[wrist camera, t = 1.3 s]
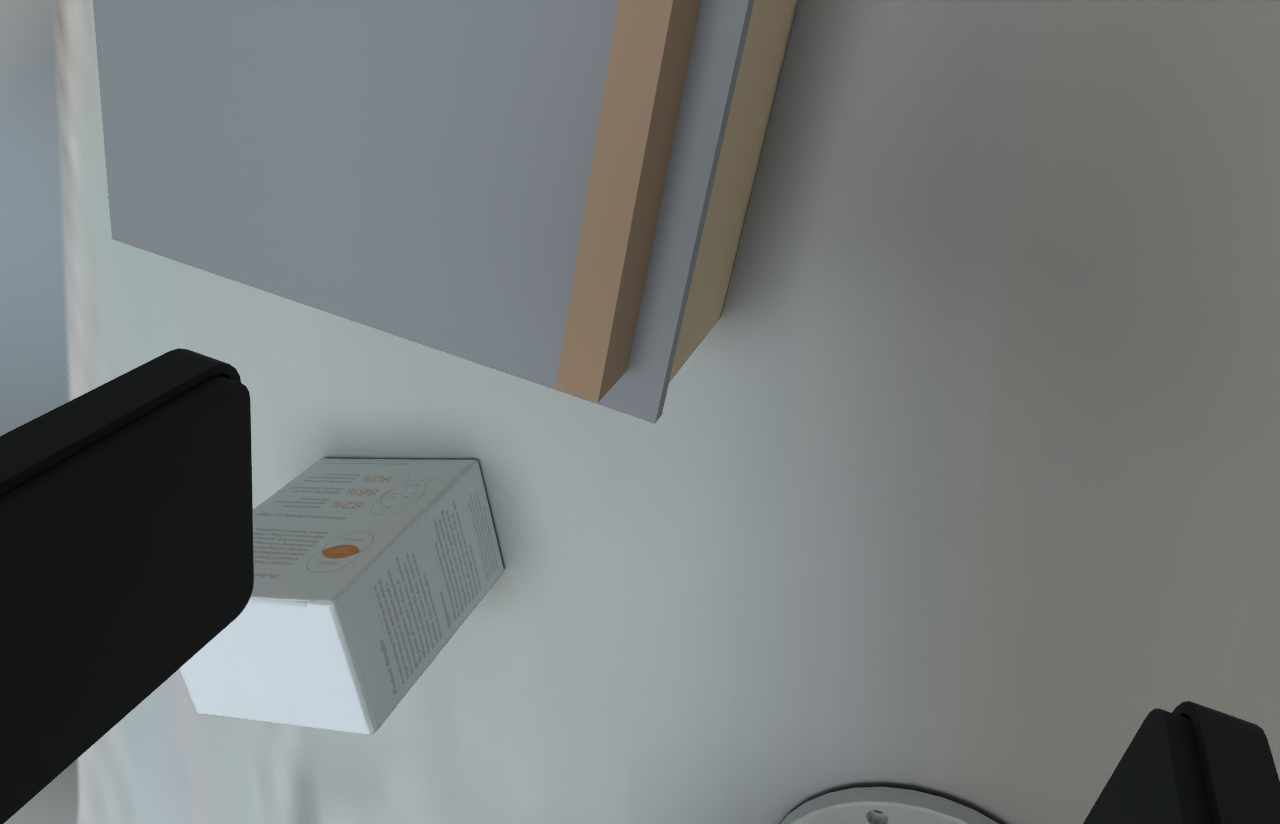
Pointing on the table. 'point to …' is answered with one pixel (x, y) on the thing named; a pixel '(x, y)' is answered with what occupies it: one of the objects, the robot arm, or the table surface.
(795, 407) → the table surface
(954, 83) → the table surface
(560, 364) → the lid
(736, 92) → the tray
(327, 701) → the small box
